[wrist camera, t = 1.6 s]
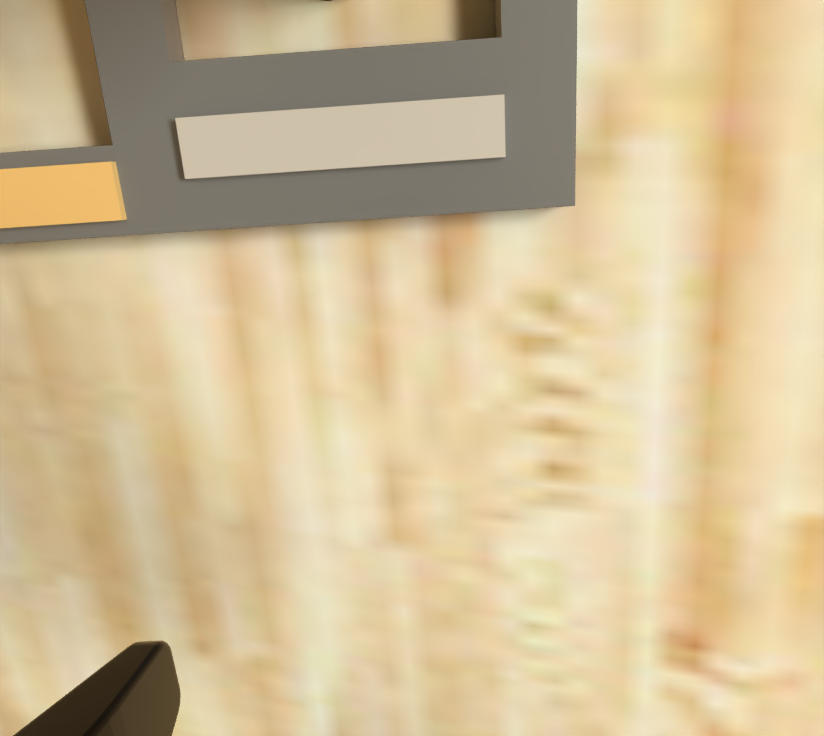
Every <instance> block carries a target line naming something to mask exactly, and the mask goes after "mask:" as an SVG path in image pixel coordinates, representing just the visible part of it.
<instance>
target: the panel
mask: <svg viewBox="0 0 824 736" xmlns="http://www.w3.org/2000/svg"><path fill="white" fill-rule="evenodd" d="M85 5H86V10H87V16H88V21H89V26H90V31H91V36H92V41H93V47H94V52H95V57H96V62H97V67H98V72H99V78H100V83H101V88H102V93H103V98H104V103H105V109H106V114H107V119H108V124H109V129H110V134H111V140H112V145H106V146H92V147H78V148H64V149H50V150H36V151H22V152H7V153H0V244H6V243H21V242H36V241H51V240H66V239H81V238H96V237H111V236H126V235H141V234H156V233H172V232H187V231H202V230H217V229H232V228H247V227H262V226H277V225H292V224H307V223H322V222H337V221H352V220H367V219H382V218H397V217H412V216H428V215H443V214H458V213H473V212H488V211H503V210H518V209H533V208H548V207H563V206H575V158H576V66H577V0H495V12H496V38H484V39H471V40H457V41H444V42H430V43H417V44H404V45H390V46H377V47H363V48H350V49H337V50H323V51H310V52H296V53H283V54H269V55H256V56H243V57H229V58H216V59H202V60H189V61H184V54H183V48H182V42H181V35H180V29H179V22H178V16H177V10H176V3H175V0H85Z"/></svg>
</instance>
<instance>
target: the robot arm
mask: <svg viewBox="0 0 824 736" xmlns="http://www.w3.org/2000/svg"><path fill="white" fill-rule="evenodd" d="M179 706H180V687H179V683H178V678H177V674H176V670H175V665H174V661H173V657H172V652H171V649H170V646H169V645H168V643H166V642H164V641H144V642H136V643H134V644H132V645H130V646H129V647H127V648H126V649H125V650H124V651H122V652H121V653H120V654H118V655H117V656H116V657H114V658H113V659H112V660H111V661H109V662H108V663H107V664H105V665H104V666H103V667H102V668H100V669H99V670H98V671H96V672H95V673H94V674H92V675H91V676H90V677H89V678H87V679H86V680H85V681H83V682H82V683H81V684H80V685H78V686H77V687H76V688H74V689H73V690H72V691H70V692H69V693H68V694H67V695H65V696H64V697H63V698H61V699H60V700H59V701H57V702H56V703H55V704H54V705H52V706H51V707H50V708H48V709H47V710H46V711H45V712H43V713H42V714H41V715H39V716H38V717H37V718H35V719H34V720H33V721H32V722H30V723H29V724H28V725H26V726H25V727H24V728H22V729H21V730H20V731H19V732H17V733H16V734H15V735H13V736H172V733H173V729H174V726H175V722H176V719H177V715H178V711H179Z"/></svg>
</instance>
